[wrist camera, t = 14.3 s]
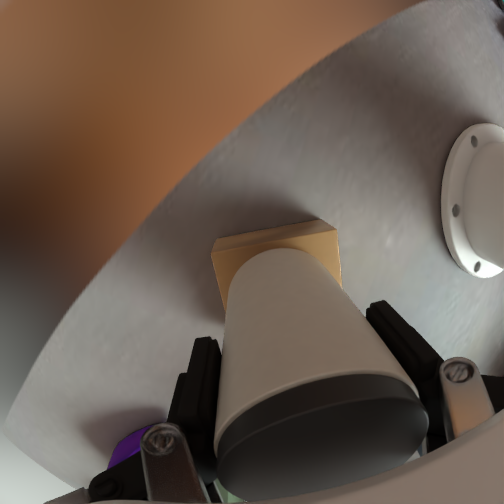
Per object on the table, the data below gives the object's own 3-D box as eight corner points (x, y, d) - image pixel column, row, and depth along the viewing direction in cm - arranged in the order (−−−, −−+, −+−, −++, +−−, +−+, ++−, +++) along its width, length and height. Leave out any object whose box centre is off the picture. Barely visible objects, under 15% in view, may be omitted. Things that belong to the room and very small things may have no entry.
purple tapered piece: (196, 456, 17) (134, 505, 19) (199, 417, 22) (141, 475, 24) (140, 432, 17) (95, 487, 18) (152, 394, 21) (105, 458, 23)
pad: (321, 218, 17) (337, 228, 14) (331, 312, 18) (344, 335, 15) (215, 238, 17) (210, 252, 14) (237, 330, 19) (237, 357, 16)
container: (328, 238, 14) (456, 356, 4) (335, 332, 15) (408, 476, 6) (216, 259, 14) (175, 423, 4) (240, 351, 16) (240, 515, 6)
